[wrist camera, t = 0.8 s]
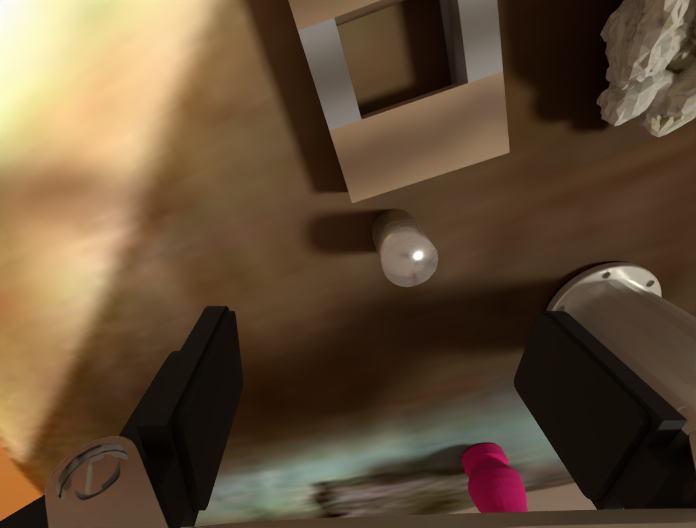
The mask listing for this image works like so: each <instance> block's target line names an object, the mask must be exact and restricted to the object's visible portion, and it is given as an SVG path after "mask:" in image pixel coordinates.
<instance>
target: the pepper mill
mask: <svg viewBox="0 0 696 528" xmlns="http://www.w3.org/2000/svg"><path fill="white" fill-rule="evenodd" d="M461 462H462V465H463V468H464V470H465V473H466V475H467V476H468V477H469V482H468V491H469V494H470V496H471V498H472V500H473V502H474V504H475V505H476V507H477V508H478V510H479V511H480V512H481V513H498V512H528V510H527V499H526V492H525V488H524V485H523V482H522V480H521V478H520V476H519V474H518V473H517V472H516V471H515V470H514V469H513V468H512V467H510V466H508V460H507V458H506V456H505V454H504V452H503V450H502V448H501V447H500V446H498V445H496V444H492V443H483V444H478V445H475V446H473V447H471V448H469V449H468V450H467V451H466V452H465V453H464V454H463V456H462V460H461Z"/></svg>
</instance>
